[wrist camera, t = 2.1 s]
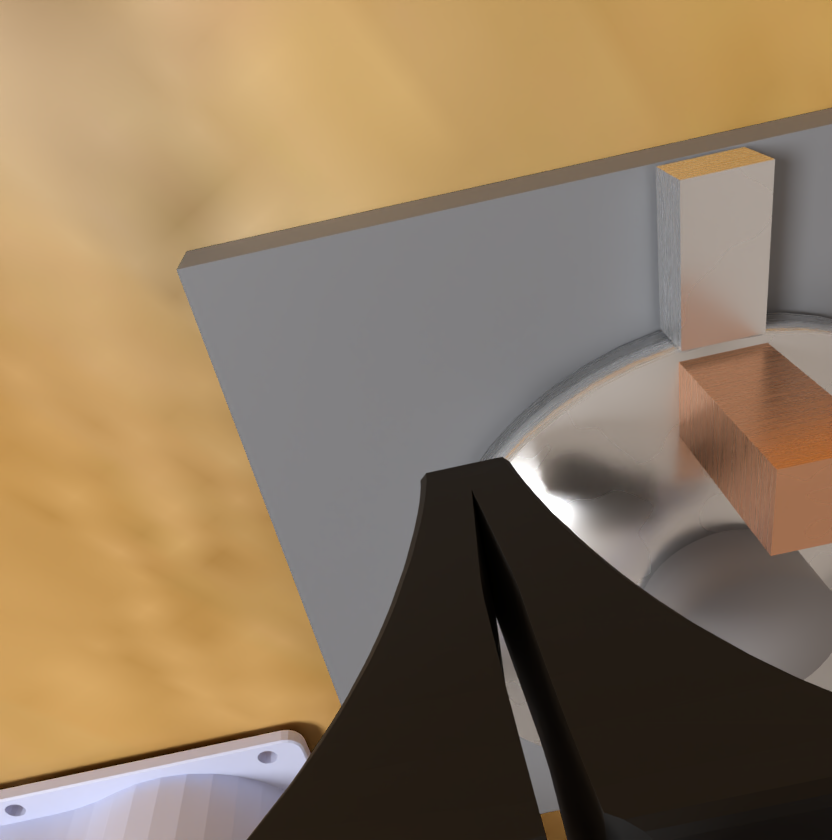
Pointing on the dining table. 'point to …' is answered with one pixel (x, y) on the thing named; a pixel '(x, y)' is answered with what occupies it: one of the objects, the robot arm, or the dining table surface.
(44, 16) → the dining table surface
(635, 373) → the flange plate
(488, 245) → the turntable base
